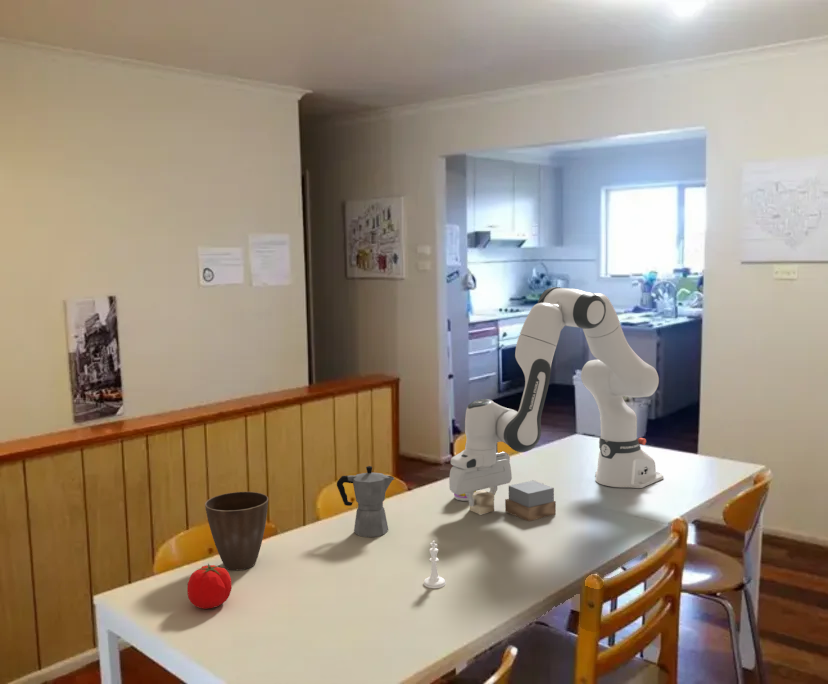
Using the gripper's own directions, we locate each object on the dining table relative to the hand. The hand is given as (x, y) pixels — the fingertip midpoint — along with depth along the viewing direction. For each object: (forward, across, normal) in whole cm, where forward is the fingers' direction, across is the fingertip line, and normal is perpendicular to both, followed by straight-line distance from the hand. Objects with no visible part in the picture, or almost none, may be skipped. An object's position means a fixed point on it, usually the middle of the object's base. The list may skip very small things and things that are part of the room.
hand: (481, 503), depth 223 cm
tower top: (-2, -10, +10) cm, 14 cm away
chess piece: (+2, +39, +33) cm, 51 cm away
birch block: (+2, 0, 0) cm, 2 cm away
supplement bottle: (+2, -3, -12) cm, 13 cm away
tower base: (+2, -10, +10) cm, 14 cm away
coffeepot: (+2, +35, -5) cm, 35 cm away
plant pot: (+2, +71, -4) cm, 71 cm away
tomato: (+2, +84, +13) cm, 85 cm away
